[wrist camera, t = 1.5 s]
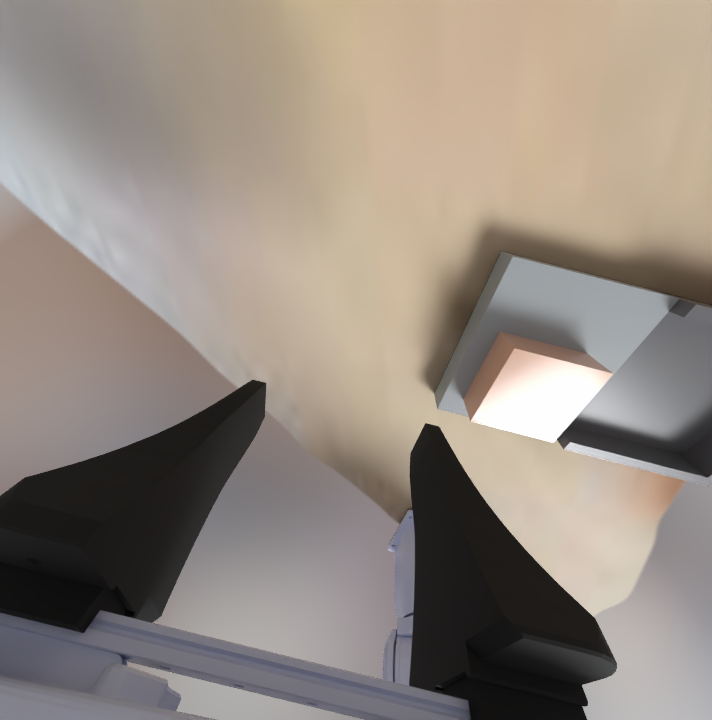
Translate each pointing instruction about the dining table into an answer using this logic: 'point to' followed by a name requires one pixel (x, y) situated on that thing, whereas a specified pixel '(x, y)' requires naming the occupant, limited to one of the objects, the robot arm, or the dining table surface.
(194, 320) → the dining table surface
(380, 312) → the dining table surface
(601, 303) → the slate plate
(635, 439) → the box
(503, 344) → the block
